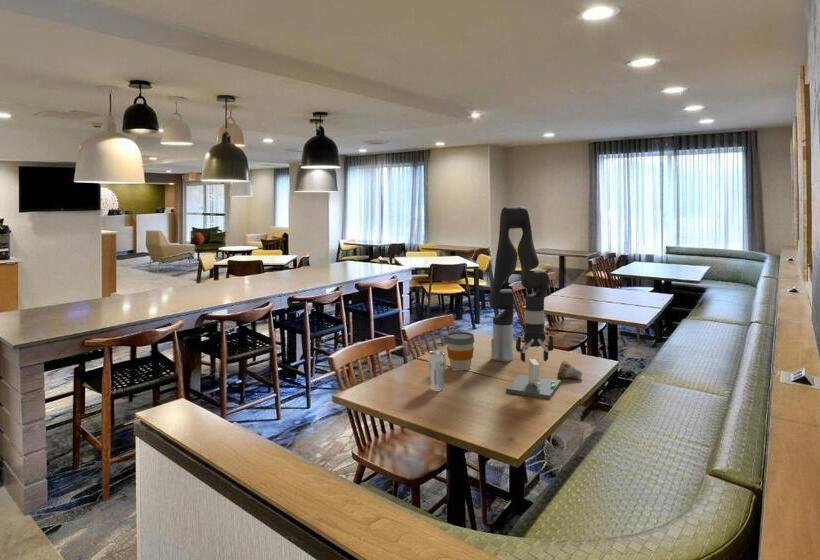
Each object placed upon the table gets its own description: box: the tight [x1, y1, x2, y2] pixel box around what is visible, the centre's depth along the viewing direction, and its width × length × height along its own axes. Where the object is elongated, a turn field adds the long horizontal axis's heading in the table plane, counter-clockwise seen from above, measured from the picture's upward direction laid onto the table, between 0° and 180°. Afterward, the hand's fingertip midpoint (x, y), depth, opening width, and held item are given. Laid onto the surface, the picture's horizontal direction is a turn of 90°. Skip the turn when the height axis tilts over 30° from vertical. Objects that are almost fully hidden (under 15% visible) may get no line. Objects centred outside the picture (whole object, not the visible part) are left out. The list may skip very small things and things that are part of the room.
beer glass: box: [427, 350, 447, 391], centre depth 207 cm, size 7×7×15 cm
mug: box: [556, 360, 583, 380], centre depth 217 cm, size 8×10×10 cm
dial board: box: [505, 374, 562, 400], centre depth 206 cm, size 17×18×2 cm
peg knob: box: [527, 358, 541, 387], centre depth 204 cm, size 10×4×9 cm, turn 1°
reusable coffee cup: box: [445, 331, 475, 371], centre depth 232 cm, size 13×13×15 cm
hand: (534, 361), depth 204 cm, fingers open, 8 cm apart
